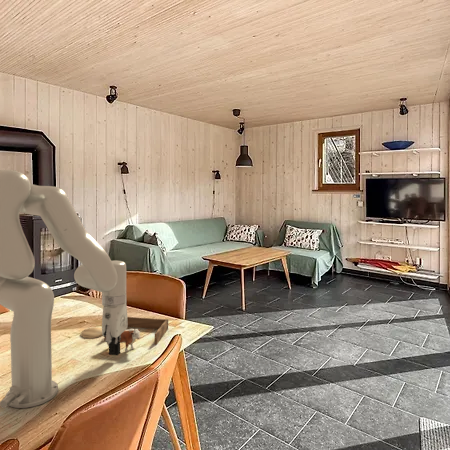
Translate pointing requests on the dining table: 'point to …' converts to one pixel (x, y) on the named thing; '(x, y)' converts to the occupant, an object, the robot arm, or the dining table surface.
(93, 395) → the dining table surface
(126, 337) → the bull figurine
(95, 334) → the oak coaster
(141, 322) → the walnut tray
